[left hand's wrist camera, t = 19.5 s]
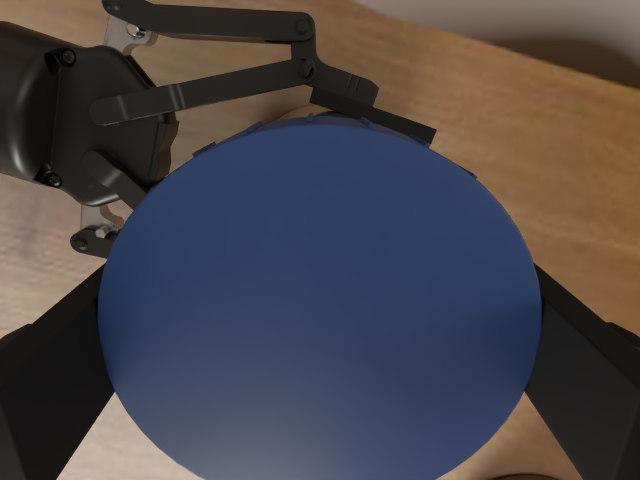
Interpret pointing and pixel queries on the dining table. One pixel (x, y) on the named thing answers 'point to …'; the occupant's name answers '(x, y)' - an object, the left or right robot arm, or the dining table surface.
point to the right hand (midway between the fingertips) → (391, 222)
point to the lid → (319, 307)
